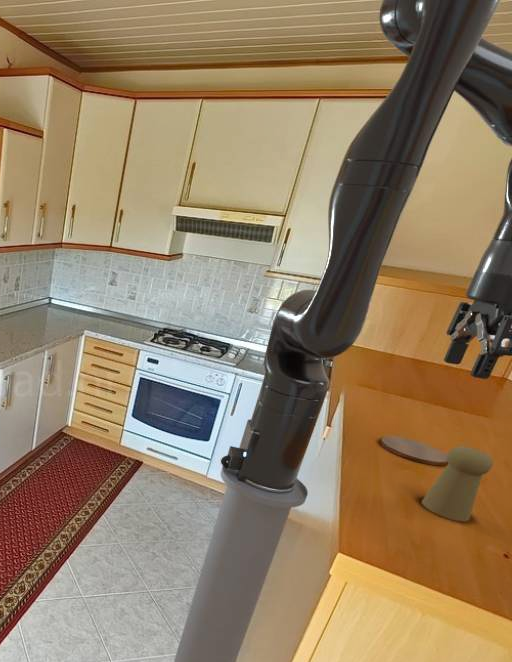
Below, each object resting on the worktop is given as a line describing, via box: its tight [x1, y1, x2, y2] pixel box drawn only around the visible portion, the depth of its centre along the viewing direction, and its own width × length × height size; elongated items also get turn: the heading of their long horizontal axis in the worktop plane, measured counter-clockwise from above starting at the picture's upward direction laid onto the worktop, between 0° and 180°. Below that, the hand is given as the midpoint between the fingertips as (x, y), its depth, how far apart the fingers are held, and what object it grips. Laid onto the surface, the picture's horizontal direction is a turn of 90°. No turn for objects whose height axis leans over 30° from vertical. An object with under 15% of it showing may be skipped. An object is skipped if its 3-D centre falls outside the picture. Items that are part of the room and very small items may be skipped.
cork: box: [421, 445, 494, 522], centre depth 78 cm, size 6×6×11 cm
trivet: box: [380, 435, 448, 466], centre depth 100 cm, size 11×11×1 cm
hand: (464, 370), depth 82 cm, fingers open, 8 cm apart
